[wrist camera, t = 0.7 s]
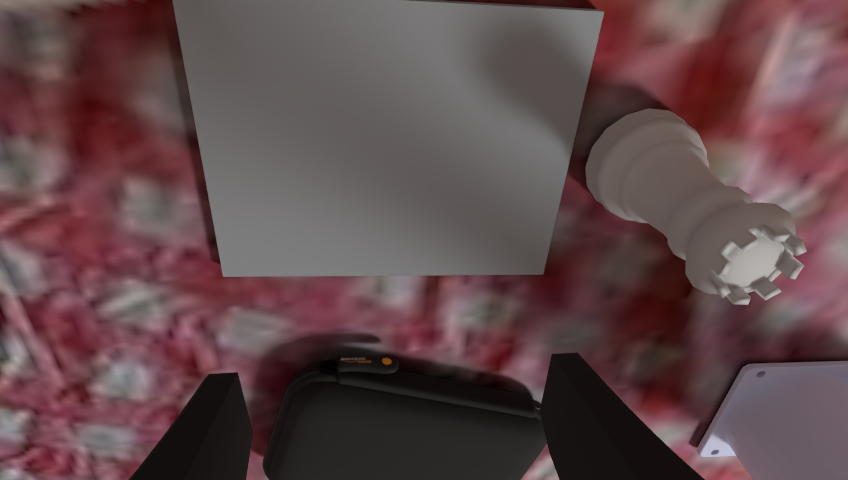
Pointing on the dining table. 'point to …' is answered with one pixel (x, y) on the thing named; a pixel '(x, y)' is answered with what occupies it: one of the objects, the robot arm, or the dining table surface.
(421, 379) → the carrying case or bag
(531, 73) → the slate mat
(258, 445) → the dining table surface
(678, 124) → the rook chess piece
